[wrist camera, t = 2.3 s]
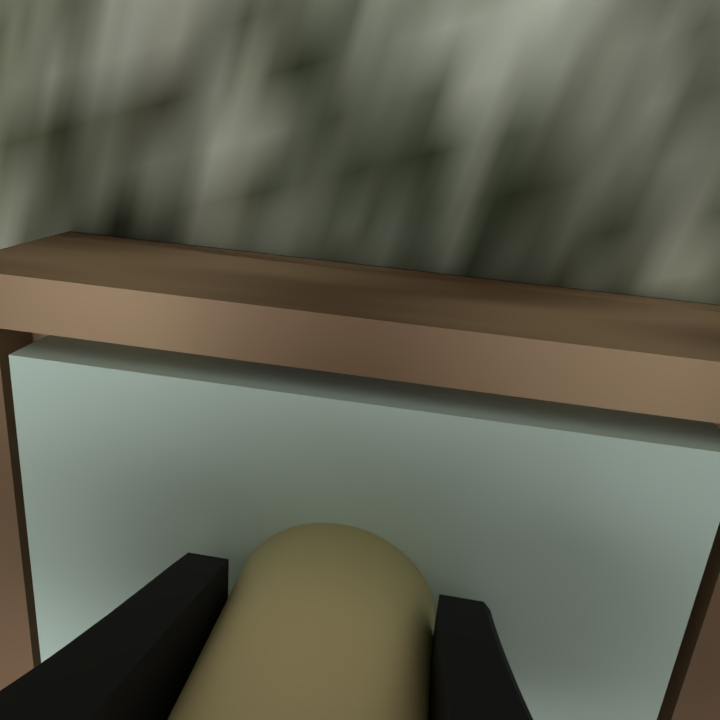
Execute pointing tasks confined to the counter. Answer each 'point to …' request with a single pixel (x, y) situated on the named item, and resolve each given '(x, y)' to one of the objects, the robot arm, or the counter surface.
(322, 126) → the counter surface
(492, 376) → the box
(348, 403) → the lid
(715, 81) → the counter surface
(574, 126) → the counter surface
